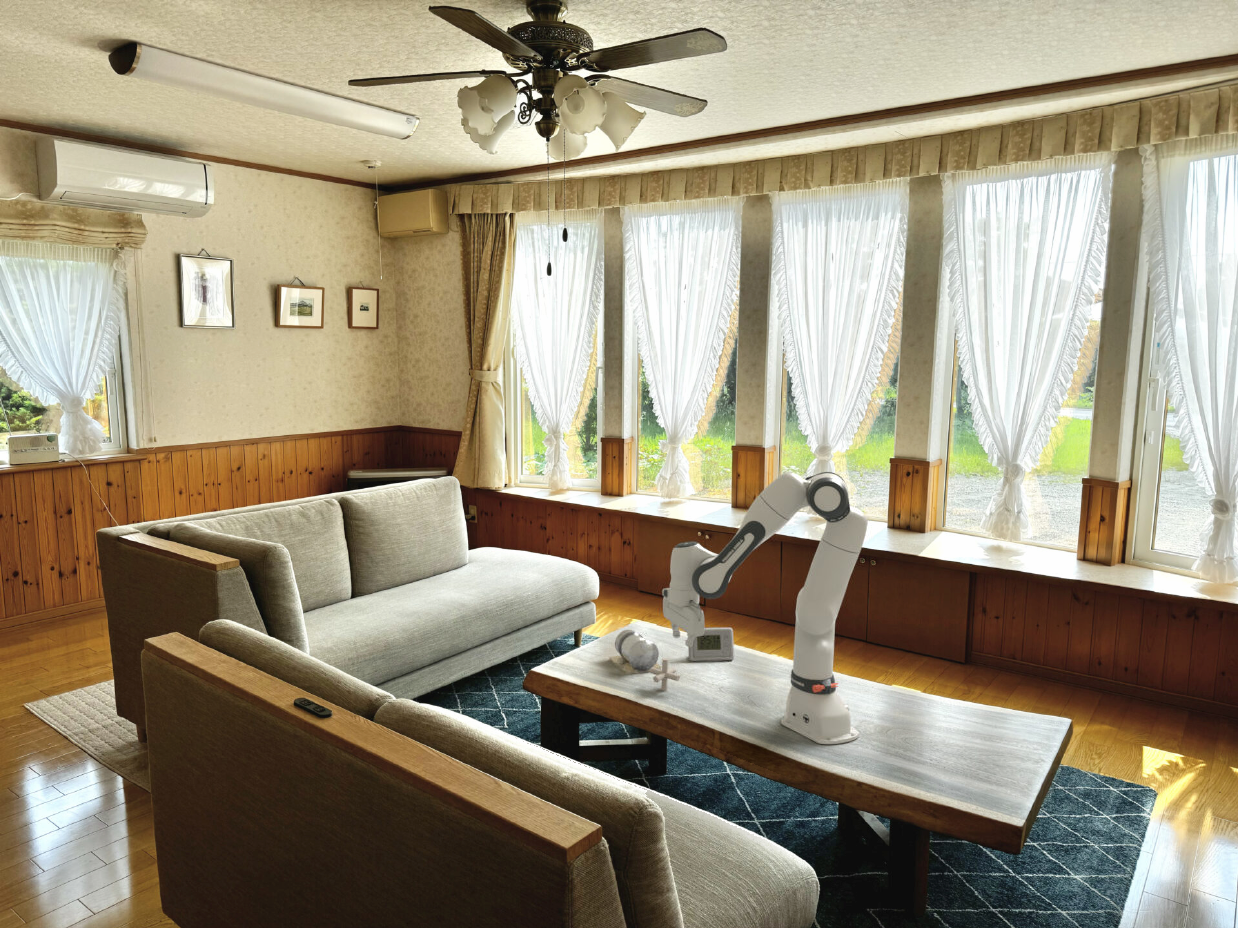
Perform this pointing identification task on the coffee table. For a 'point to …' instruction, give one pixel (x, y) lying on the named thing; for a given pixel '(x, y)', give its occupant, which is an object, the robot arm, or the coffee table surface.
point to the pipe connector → (664, 674)
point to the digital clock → (713, 645)
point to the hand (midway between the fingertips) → (682, 641)
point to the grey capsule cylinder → (635, 653)
